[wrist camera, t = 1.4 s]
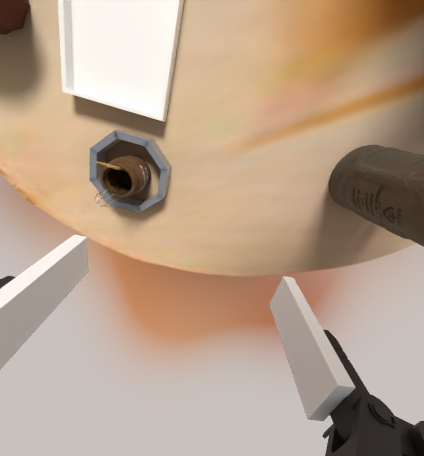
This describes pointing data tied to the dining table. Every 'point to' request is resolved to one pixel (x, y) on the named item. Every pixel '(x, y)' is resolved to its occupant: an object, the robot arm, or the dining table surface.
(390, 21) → the dining table surface
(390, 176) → the beer stein
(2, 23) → the muffin
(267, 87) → the dining table surface
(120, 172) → the utensil holder
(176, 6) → the tray
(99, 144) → the grey octagonal ring
